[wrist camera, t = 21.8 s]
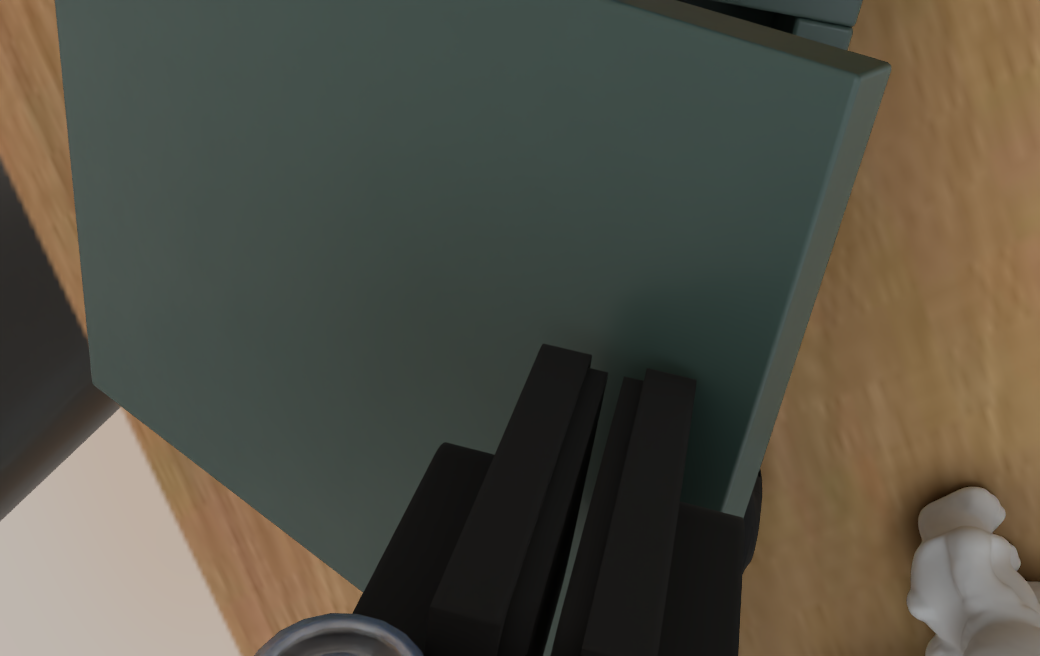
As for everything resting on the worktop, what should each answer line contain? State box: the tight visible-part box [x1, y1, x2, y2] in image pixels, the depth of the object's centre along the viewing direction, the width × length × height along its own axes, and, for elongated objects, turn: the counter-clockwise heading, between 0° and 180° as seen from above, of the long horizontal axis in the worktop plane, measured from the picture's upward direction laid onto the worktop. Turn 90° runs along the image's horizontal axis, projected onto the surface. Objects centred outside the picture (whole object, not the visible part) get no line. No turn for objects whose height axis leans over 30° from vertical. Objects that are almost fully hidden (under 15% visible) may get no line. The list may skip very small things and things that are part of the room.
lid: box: [55, 0, 891, 656], centre depth 14 cm, size 12×10×1 cm
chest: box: [677, 0, 863, 50], centre depth 20 cm, size 12×10×8 cm
